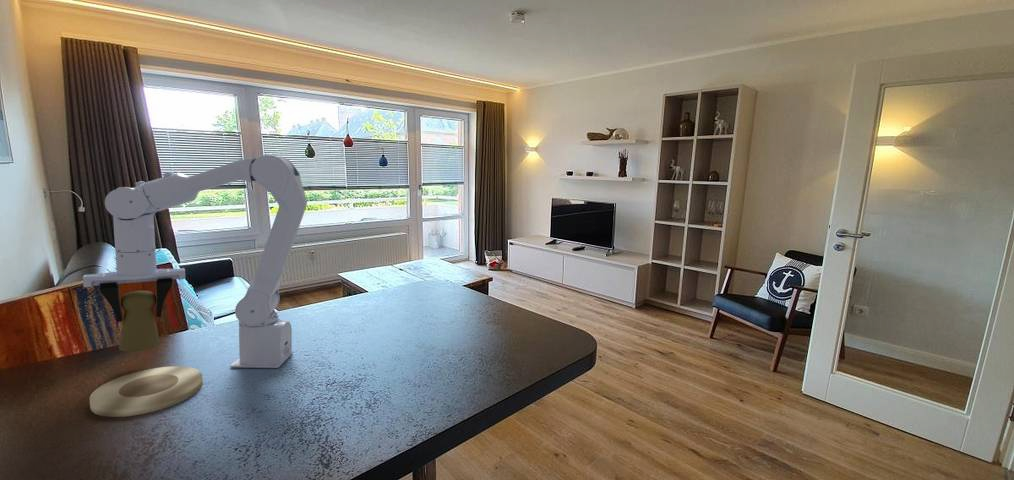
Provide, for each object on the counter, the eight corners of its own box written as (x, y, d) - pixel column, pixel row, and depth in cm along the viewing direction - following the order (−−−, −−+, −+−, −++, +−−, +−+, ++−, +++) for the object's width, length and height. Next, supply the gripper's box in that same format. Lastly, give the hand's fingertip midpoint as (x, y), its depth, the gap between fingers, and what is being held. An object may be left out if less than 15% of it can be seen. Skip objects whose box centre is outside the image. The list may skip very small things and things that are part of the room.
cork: (135, 353, 77) (134, 298, 76) (110, 348, 78) (108, 293, 77) (167, 342, 83) (167, 290, 82) (143, 337, 84) (142, 286, 83)
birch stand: (219, 374, 81) (219, 366, 80) (166, 416, 66) (165, 408, 66) (136, 373, 79) (136, 365, 79) (62, 417, 64) (61, 407, 64)
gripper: (182, 245, 86) (185, 306, 88) (84, 248, 76) (89, 318, 78) (184, 250, 80) (187, 316, 82) (79, 255, 71) (85, 329, 73)
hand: (139, 317), depth 80 cm, fingers closed on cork, 5 cm apart
